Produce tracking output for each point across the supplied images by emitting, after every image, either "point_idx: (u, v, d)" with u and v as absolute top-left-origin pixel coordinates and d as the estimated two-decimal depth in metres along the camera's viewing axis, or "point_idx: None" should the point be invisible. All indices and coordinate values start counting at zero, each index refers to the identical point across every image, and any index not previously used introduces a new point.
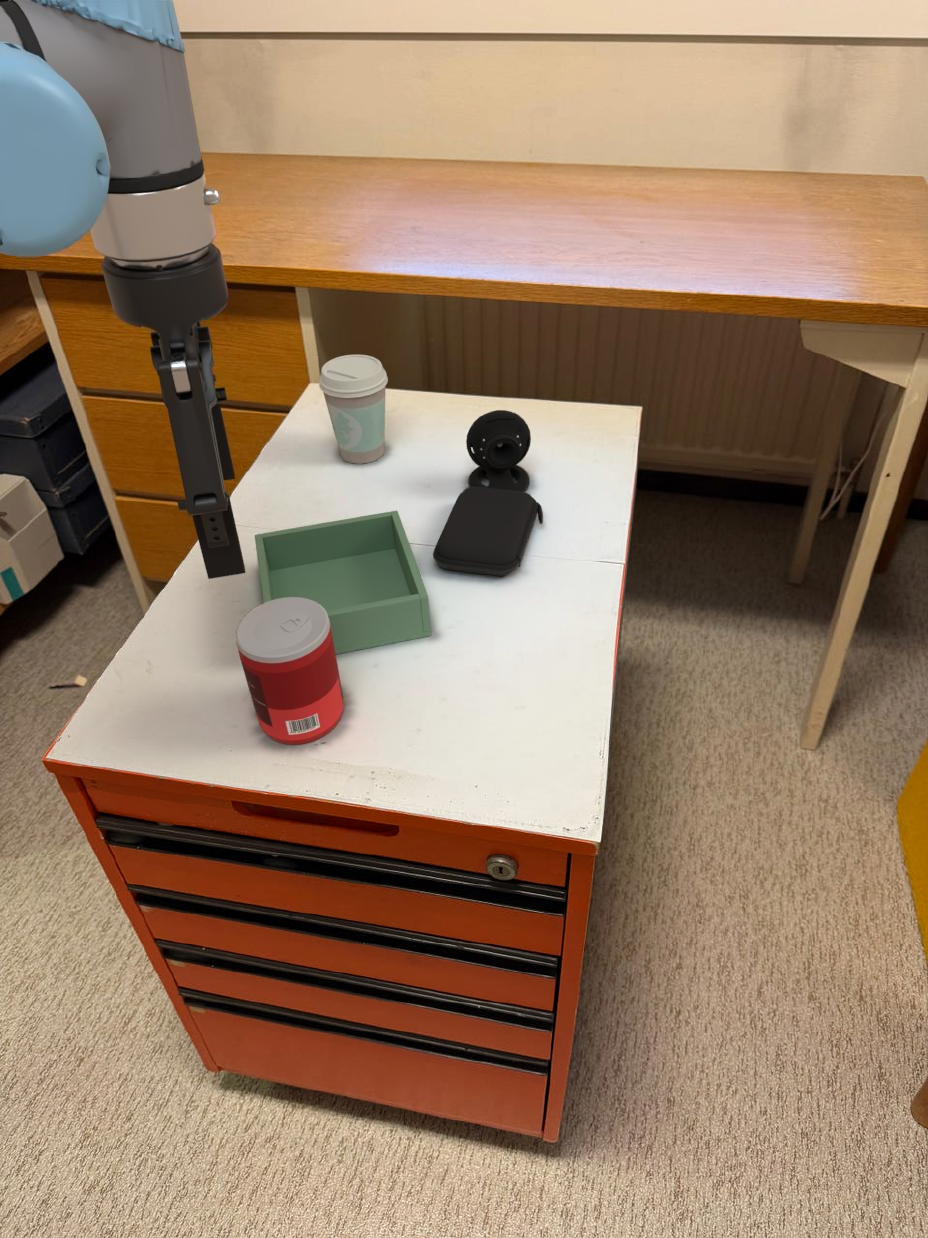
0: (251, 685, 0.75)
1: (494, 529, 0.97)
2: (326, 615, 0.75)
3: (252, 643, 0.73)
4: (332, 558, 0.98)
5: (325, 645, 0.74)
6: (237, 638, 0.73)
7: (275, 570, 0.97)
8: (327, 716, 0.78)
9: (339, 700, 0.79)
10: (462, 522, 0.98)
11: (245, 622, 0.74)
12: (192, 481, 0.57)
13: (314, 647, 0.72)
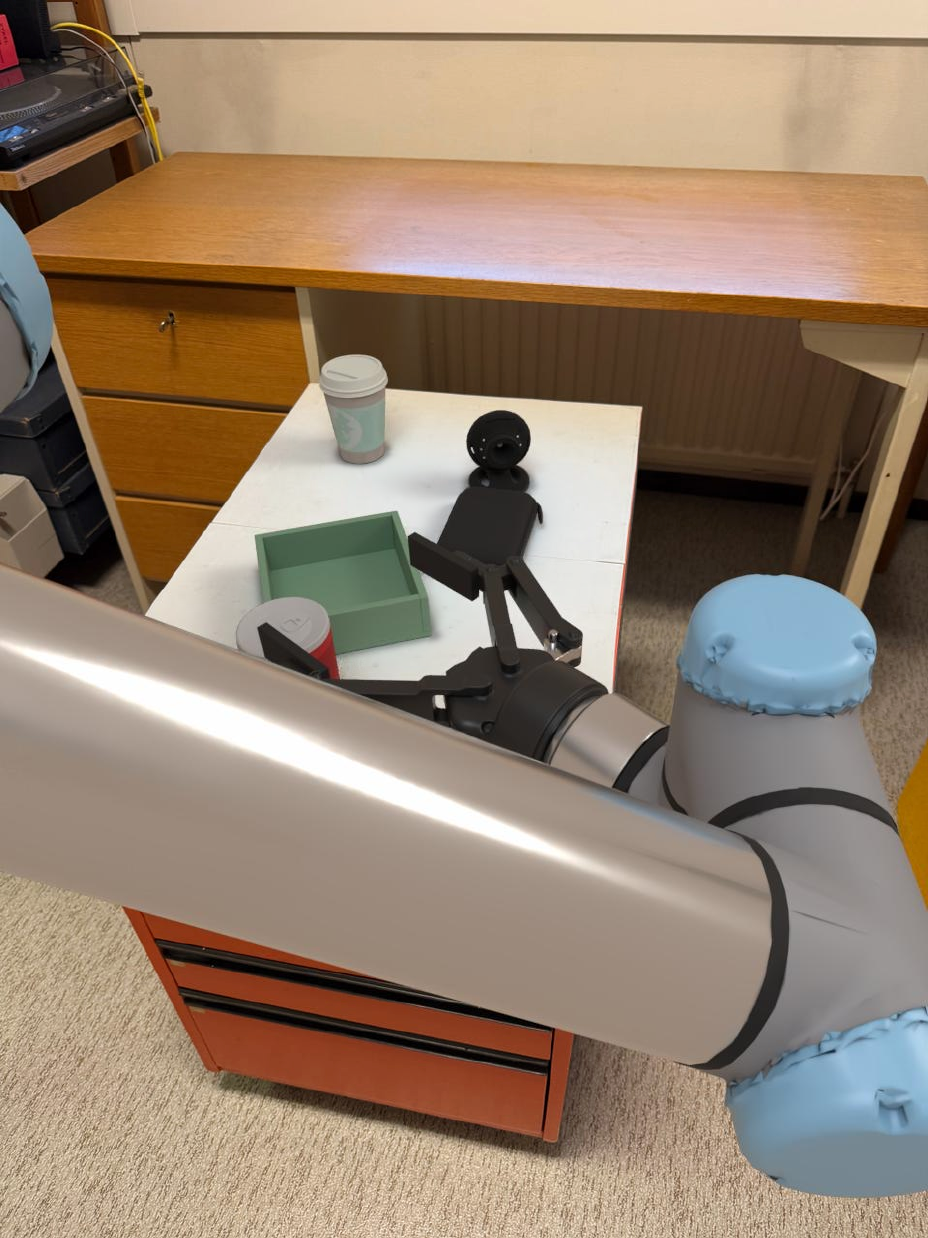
0: None
1: (494, 529, 0.97)
2: (326, 615, 0.75)
3: (252, 643, 0.73)
4: (332, 558, 0.98)
5: (325, 645, 0.74)
6: (237, 638, 0.73)
7: (275, 570, 0.97)
8: None
9: None
10: (462, 522, 0.98)
11: (245, 622, 0.74)
12: None
13: (314, 647, 0.72)
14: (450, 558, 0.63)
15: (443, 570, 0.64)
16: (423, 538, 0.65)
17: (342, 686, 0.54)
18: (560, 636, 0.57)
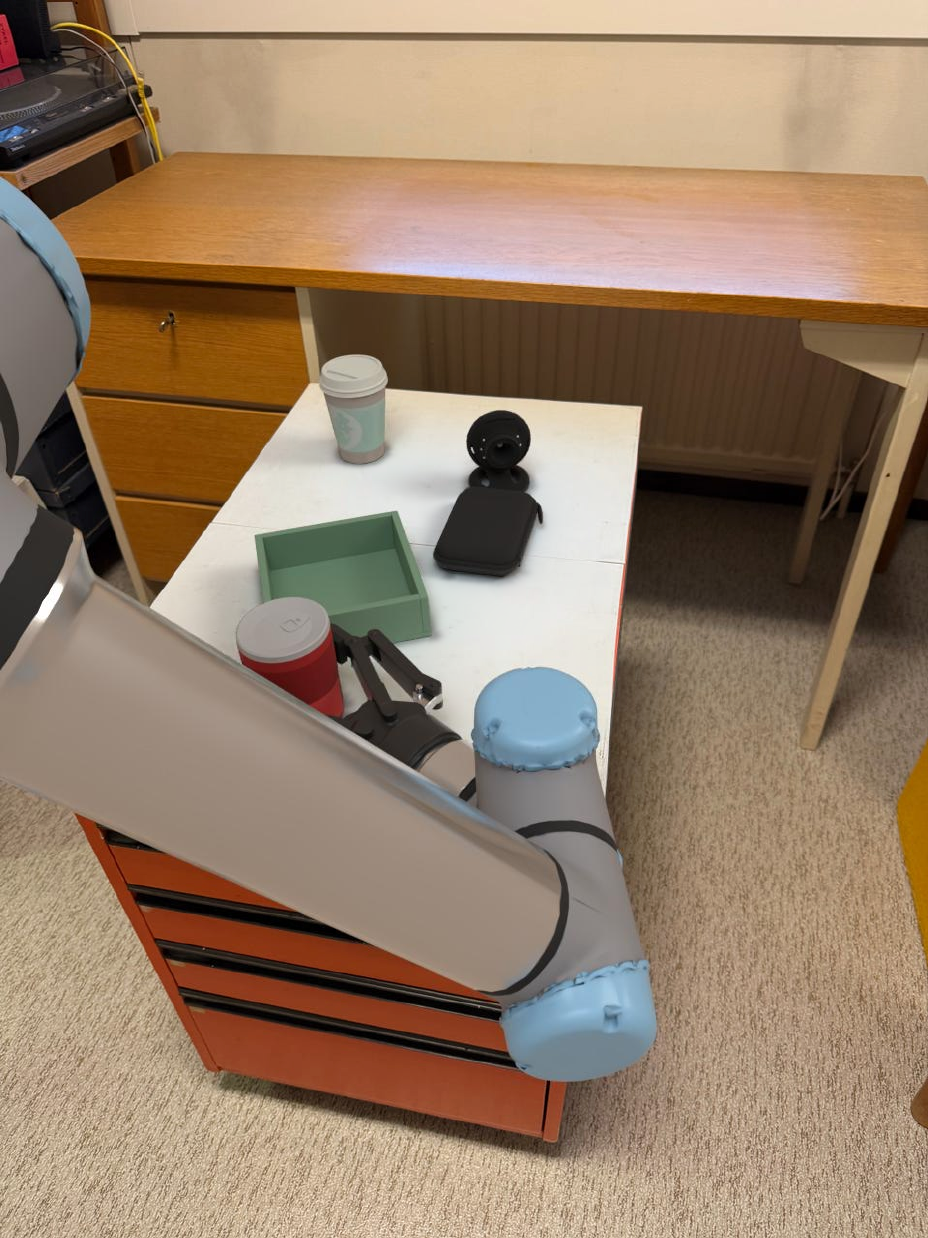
0: None
1: (494, 529, 0.97)
2: (326, 615, 0.75)
3: (252, 643, 0.73)
4: (332, 558, 0.98)
5: (325, 645, 0.74)
6: (237, 638, 0.73)
7: (275, 570, 0.97)
8: None
9: (339, 700, 0.79)
10: (462, 522, 0.98)
11: (245, 622, 0.74)
12: None
13: (314, 647, 0.72)
14: None
15: None
16: None
17: None
18: (425, 688, 0.73)
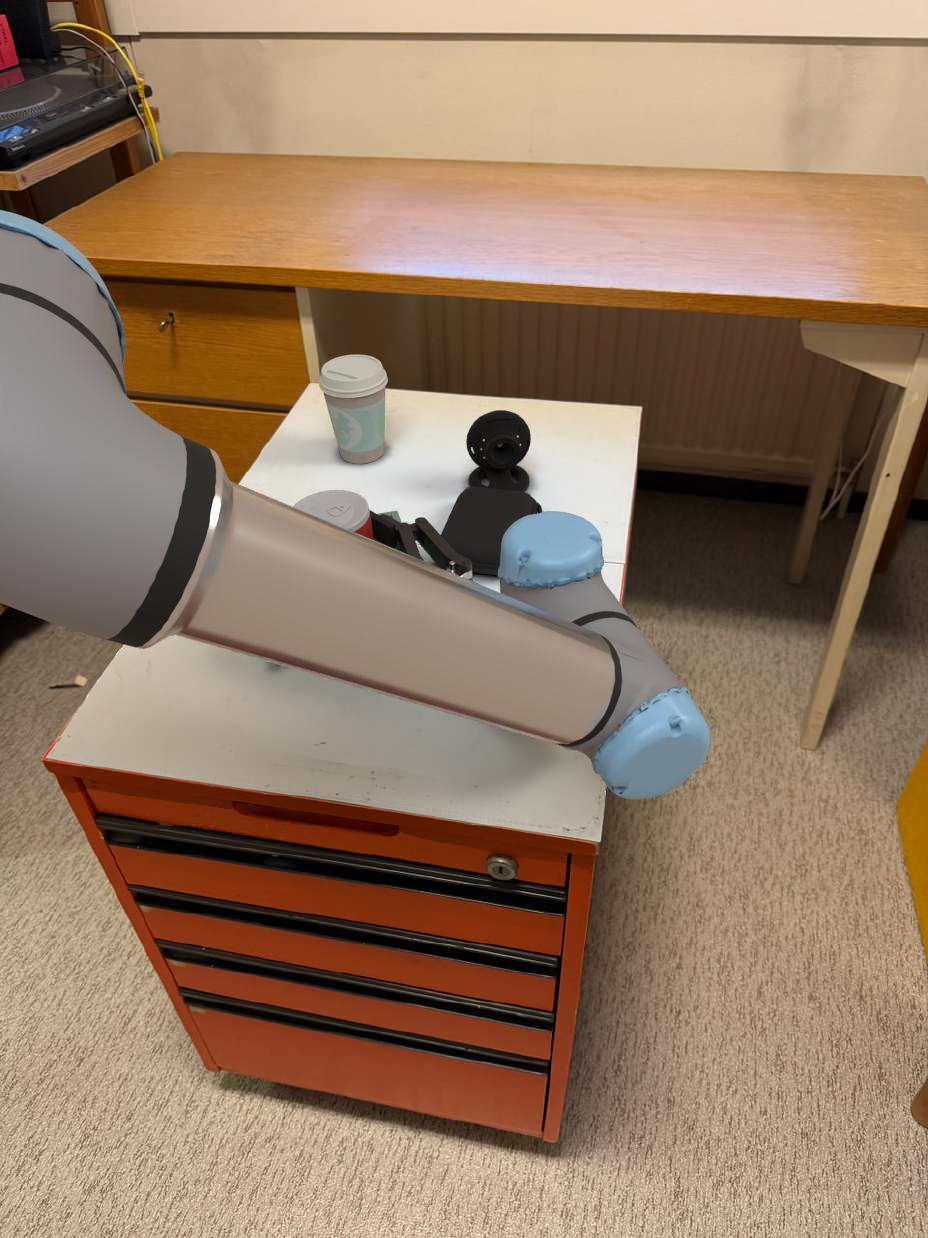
0: None
1: (494, 529, 0.97)
2: (366, 503, 0.86)
3: None
4: None
5: (366, 528, 0.85)
6: None
7: None
8: None
9: None
10: (462, 522, 0.98)
11: None
12: None
13: (357, 527, 0.84)
14: (376, 518, 0.91)
15: (372, 527, 0.92)
16: None
17: None
18: (457, 565, 0.85)
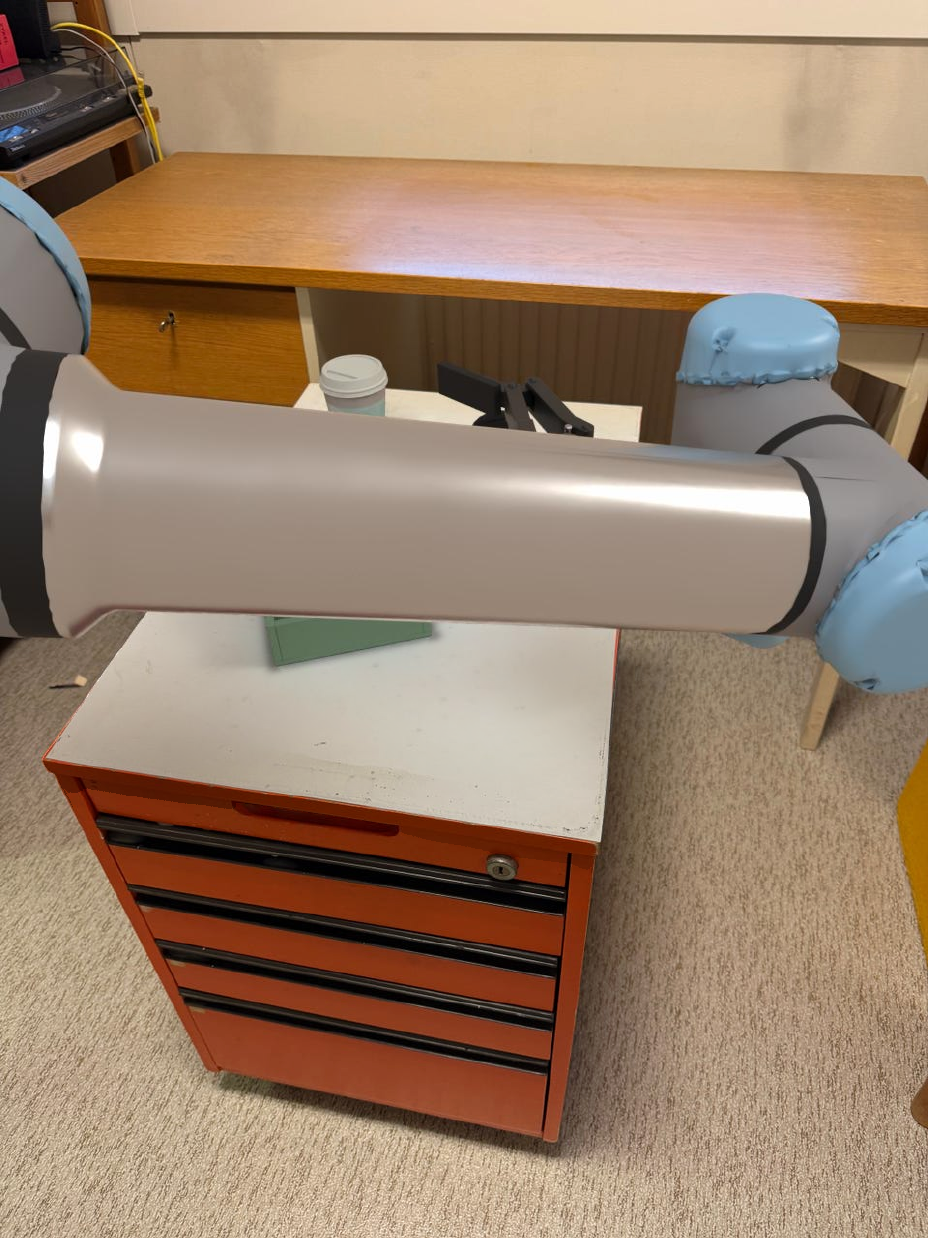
0: None
1: None
2: None
3: None
4: None
5: None
6: None
7: None
8: None
9: None
10: None
11: None
12: None
13: None
14: (476, 378, 0.71)
15: (469, 391, 0.72)
16: (451, 364, 0.73)
17: None
18: (575, 429, 0.65)
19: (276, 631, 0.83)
